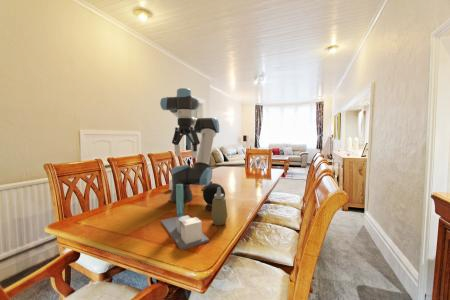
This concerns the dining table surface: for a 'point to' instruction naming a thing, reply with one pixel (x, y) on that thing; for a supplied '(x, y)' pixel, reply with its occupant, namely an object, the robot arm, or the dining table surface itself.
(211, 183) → the bell
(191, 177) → the robot arm
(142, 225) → the dining table surface
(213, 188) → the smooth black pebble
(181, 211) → the tube
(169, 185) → the container
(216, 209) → the squeeze bottle
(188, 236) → the socket
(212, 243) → the dining table surface
